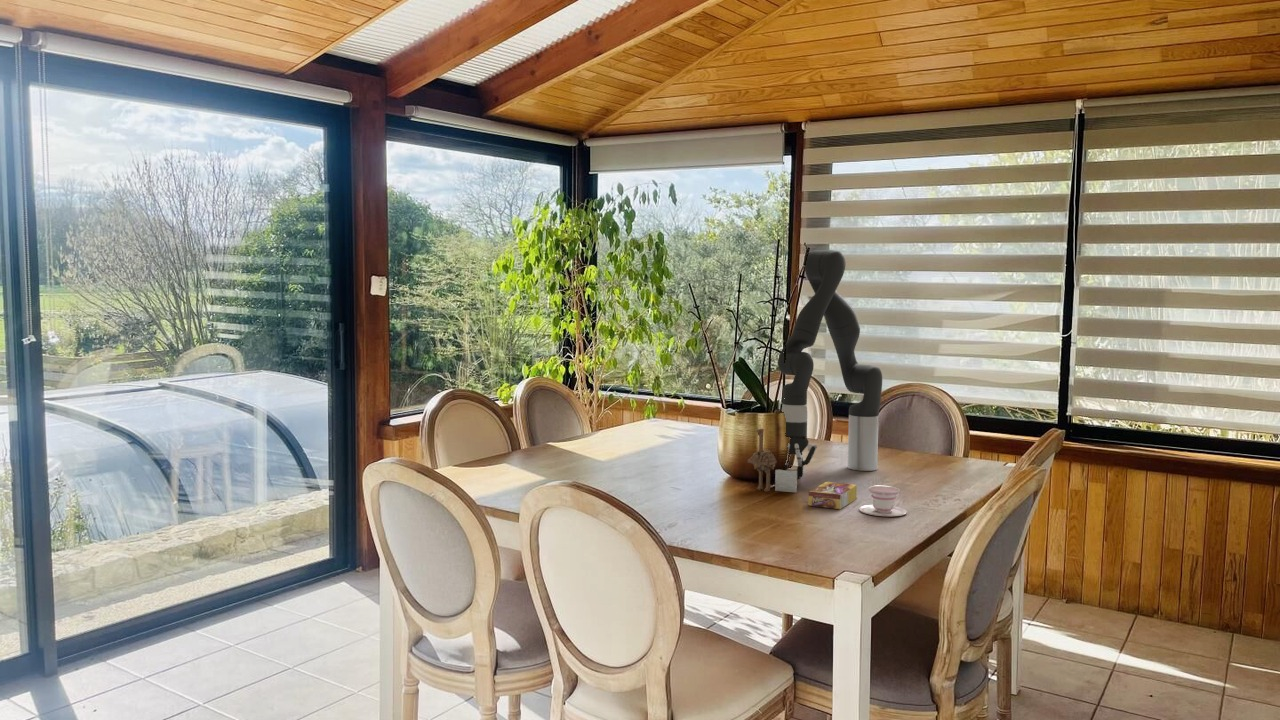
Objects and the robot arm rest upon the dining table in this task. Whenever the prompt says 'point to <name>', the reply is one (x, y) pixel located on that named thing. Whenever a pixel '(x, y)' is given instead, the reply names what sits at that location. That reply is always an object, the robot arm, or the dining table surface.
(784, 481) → the pale square-ended block
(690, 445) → the dining table surface
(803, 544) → the dining table surface
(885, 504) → the teacup
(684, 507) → the dining table surface
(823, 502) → the candy box
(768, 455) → the ostrich figurine
